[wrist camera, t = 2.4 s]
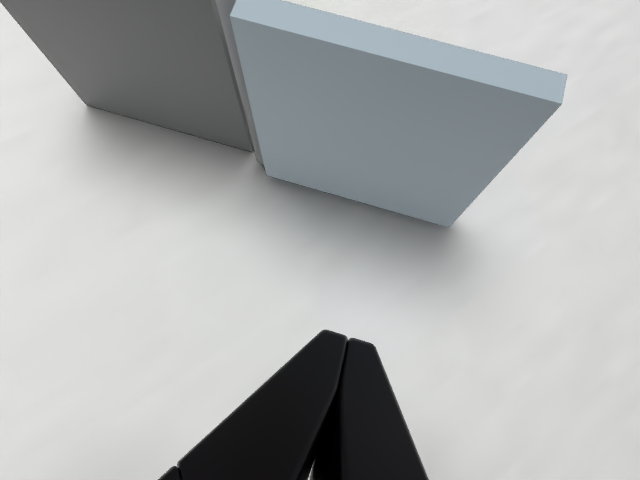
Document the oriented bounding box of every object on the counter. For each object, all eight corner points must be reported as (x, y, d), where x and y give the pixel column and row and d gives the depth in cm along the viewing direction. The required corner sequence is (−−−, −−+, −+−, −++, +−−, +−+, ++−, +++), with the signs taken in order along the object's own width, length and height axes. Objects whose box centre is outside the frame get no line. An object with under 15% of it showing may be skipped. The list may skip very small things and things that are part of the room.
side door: (449, 227, 20) (562, 103, 11) (250, 170, 21) (201, 8, 11) (455, 201, 20) (570, 60, 11) (259, 146, 21) (219, -31, 12)
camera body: (456, 212, 21) (586, 65, 11) (85, 106, 22) (-99, -112, 12) (485, 89, 22) (619, -134, 13) (139, -3, 24) (16, -273, 14)
